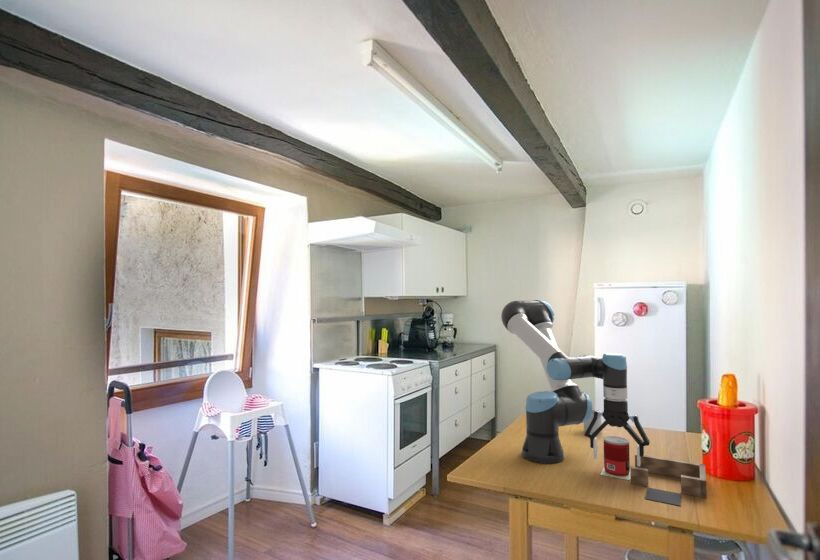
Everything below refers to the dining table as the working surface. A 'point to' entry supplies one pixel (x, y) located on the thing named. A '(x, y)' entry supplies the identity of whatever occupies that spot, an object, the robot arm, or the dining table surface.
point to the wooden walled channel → (671, 473)
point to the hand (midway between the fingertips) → (616, 461)
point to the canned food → (616, 456)
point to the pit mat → (663, 496)
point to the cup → (596, 425)
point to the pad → (615, 475)
